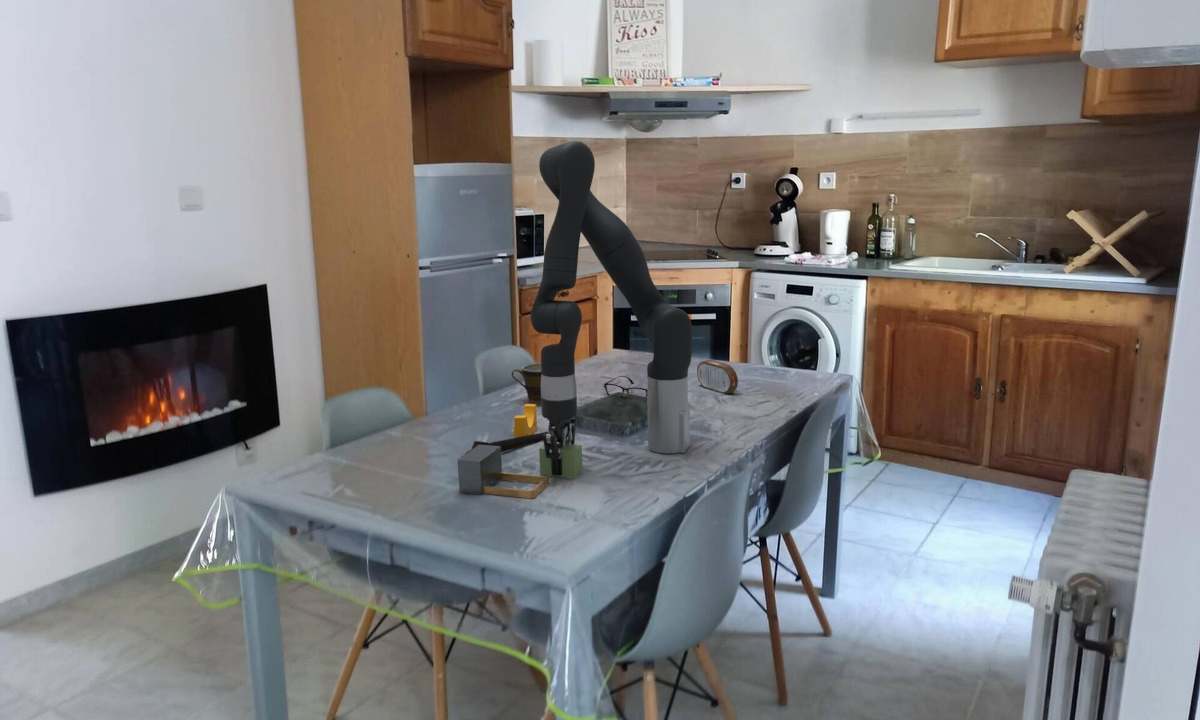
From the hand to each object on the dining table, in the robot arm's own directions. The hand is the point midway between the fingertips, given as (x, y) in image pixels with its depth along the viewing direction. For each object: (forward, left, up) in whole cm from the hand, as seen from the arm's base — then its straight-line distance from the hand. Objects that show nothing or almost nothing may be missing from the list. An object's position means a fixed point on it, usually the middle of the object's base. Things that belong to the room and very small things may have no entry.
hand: (561, 470), depth 190 cm
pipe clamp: (+18, -22, -1) cm, 29 cm away
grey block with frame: (+8, +11, -1) cm, 14 cm away
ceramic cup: (+27, -51, -1) cm, 58 cm away
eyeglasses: (+2, -68, -1) cm, 68 cm away
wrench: (+14, -12, -1) cm, 18 cm away
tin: (-19, -75, -1) cm, 77 cm away
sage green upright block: (0, 0, -1) cm, 1 cm away
